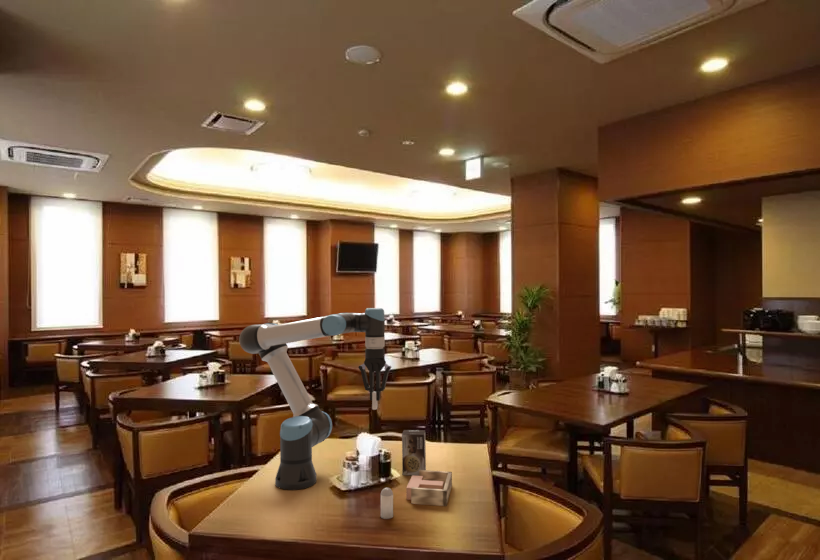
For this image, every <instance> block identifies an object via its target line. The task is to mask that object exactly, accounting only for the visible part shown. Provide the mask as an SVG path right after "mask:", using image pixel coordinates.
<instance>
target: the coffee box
mask: <svg viewBox="0 0 820 560" xmlns="http://www.w3.org/2000/svg"><path fill="white" fill-rule="evenodd" d="M401 446H402V447H401V448H402V449H401V450H402V451H401V453H402V457H401V458H402V459H401V460H402V462H401V463H402V464H401V465H402V466H401V467H402V471H401V472H402V474H401V475H402V476H412V475H415V476H419V471H420V470H427V466H426V465H427V463H426V461H427V460H426V457H427V455H426V450H427V449H426V430H424V429H403V431H402V433H401Z"/></svg>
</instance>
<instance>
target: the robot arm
mask: <svg viewBox="0 0 820 560" xmlns="http://www.w3.org/2000/svg"><path fill="white" fill-rule="evenodd" d="M385 321H386V317H385V310H384V308H380V307H366V309H365V310H364V312H362V313H361V312H360V313H359V312H340V313H333V314H329V315H325V316H320V317H314V318H309V319H302V320H297V321H292V322H286V323H280V324H278V323H275V322H274V323H272V322H266V323H261V324H251V325H248V326H246V327H245V328H243V329H242V330H241V332H240V334H239V337H238V338H239V340H238V342H239V345H240V347H241V349H242V350H243V351H244V352H246V353H248V354H250V355H251V354H252V355H256V354H258V355H259V357H260V359H261V361H263V362H265V363H267V364H268V366H269V368H270V370H271V373H272V374H273V376H274V379H275V380H276V382H277V384H278V386H279V388H280V390H281V393H282V394H283V396H284V398H285V400H286V402H287V404H288V406H289V408H290V410H291V412H292V415H293V416H292V417H289V418H287V419H285V420H283V421H282V423H281V424H280V430H279V436H280V440H279V441H280V442H279V443H280V444H279V445H280V452H279V454H280V455H279V457H280V463H279V466H278V468H277V472H276V475H275V479H274V480H275V481H274V483H275V484H276V485H275V484H274V485H275V486H276V488H278V487H280V488H279V489H281V488H283V489H282V490H286V489H288V490H287V491H294V490H296V491H297V490H303V489H307V488H309V487H312V486H314V485H315V484H316V483H317V473H316V469H315V466H314V463H313V448H314V447H315V446H317V445H318V444H320V443H322V442H324V441H326V439H327V438H329V436H330V435H331V433H332V429H333V422H332V418H331V417H330V415H329V414H328V413H327V412H325V411H322V410H321V408H320V406H319V405H318V404H316V403H314V402H313V401H312V399H311V397H310V395H309V392H308V391H307V389H306V387H305V386H304V383H303V382H302V380H301V378H300V375H299V373H298V372H297V370H296V368H295V366H294V364H293V362H292V361H291V358H290V357H289V355H288V353H287V351H288V348H289V347H288V344H290V343H297V342H301V341H307V340H312V339H313V340H314V339H318V338H319V339H320V338H325V337H333V336H338V335H343V334H349V333H365V334H364V335H365V337H364V338H365V343H364V344H365V345H364V346H365V351H364V353H365V357H364V358H365V360H364V361H363V363H362V364H361V365H359V366H358V369H359V371H360V374H361V378H362V382H363V386H364V387H363V388H364V390H365V391H368V393H369V401H372V402H371V403H372V404H371V409H372V410H373V411H375V410H377V409H378V408H379V407H378V406H379V405H378V403H379V402H378V401H380V400H381V392H383V391H384V390H385V389H386V385H387V381H388V377H389V373H390V371H391V369H392V366H391V365H389V364H387V361H386V359H385V358H386V357H385V352H386V350H385V348H384V347H385V346H386V345H385V343H386V341H385V340H386V339H385V324H386V323H385ZM383 368H384V372H383V373H384V374H383V377H382V381H381V373H382V372H381V371H382V370H383ZM366 369H367V370H368V374H367V371H366ZM368 375H369V376H368ZM368 377H369V378H368Z"/></svg>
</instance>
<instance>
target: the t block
mask: <svg viewBox="0 0 820 560" xmlns="http://www.w3.org/2000/svg"><path fill="white" fill-rule="evenodd" d="M412 487H415V488H430V489H444V486H443V481H429V480H423V476H419V475H411V478H410V479H409V481H408V483H407V486H406V487H405V489H406V492H405V493H406V496H405V500H410V501H411V488H412Z"/></svg>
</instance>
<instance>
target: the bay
mask: <svg viewBox="0 0 820 560" xmlns="http://www.w3.org/2000/svg"><path fill="white" fill-rule="evenodd" d="M418 476H423V480H429V481H443V488H444V489H430V488H415V487H412V488H411V500H410V502H411V503H410V504H413V505H414V504H415V505H425V506H426V505H427V506H439V507H447V506H448V503H449V499H450V494H451V490H452V487H453V479H452V478H453V473H452V471H446V470H445V471H442V470H441V471H440V470H439V471H438V470H430V469H429V470H427V469H426V470H420V471H419V475H418Z"/></svg>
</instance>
